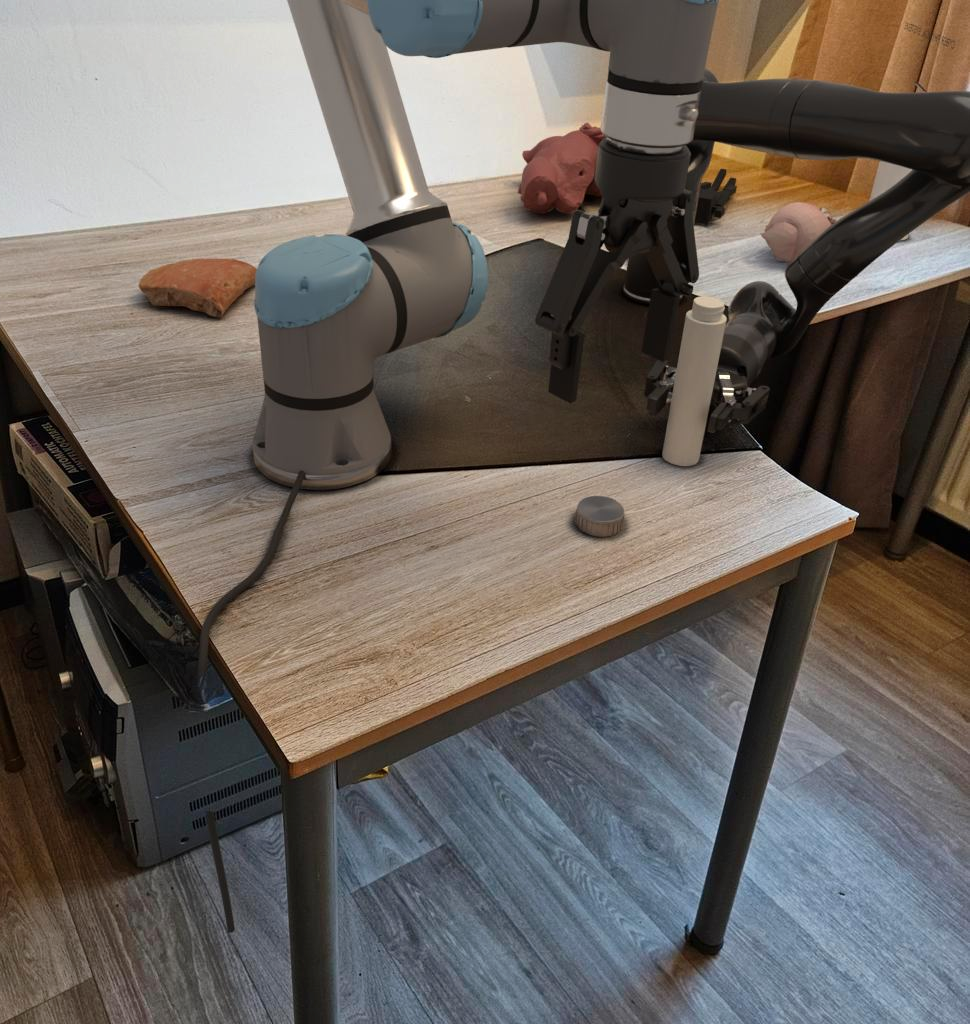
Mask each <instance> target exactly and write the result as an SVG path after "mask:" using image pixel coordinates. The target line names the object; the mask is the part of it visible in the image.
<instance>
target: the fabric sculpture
mask: <svg viewBox="0 0 970 1024" xmlns="http://www.w3.org/2000/svg"><path fill="white" fill-rule="evenodd" d="M605 137H606V136H605V135H604V134H603V133H602V131H601V129H600V127H598V126H592V125H591V124H590V123H589V122H585V123H584V124H581V126H580V127H579V129H576V130H573V131H570V132H568V133H566V134H565V135H554V136H549V137H546V138H544V139H542V140H540V141H539V142H538V143H536V145H535V146H534V147H532V148H531V149H529V150H523V151H522V153H521V156H522V158H523V160H524V162H525V163H526V164H525V166H524V168H523V170H522V172H521V173H522V174H521V180H520V181H521V182H520V185H519V186H518V189H517V194H518V195H520V200H521V202H522V203H523V207H524V209H525V210H529V211H530V212H532V213H535V214H546V213H549V212H551V211H552V210H553V209H554V208H555V209H556V210H557V211H559V212H560V213H564V214H569V213H574V212H575V211H577V210H579V209H580V205H581V204H582V202H583V203H584V199H585V195H591V196H593V197H596V198H599V197H602V193H601V191H600V189H599V188H598V187H597V185H596V183H595V173H596V165H597V157H598V149H599V143H600V142H601V141H602V140H603V139H604V138H605Z"/></svg>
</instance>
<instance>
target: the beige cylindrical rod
mask: <svg viewBox="0 0 970 1024" xmlns="http://www.w3.org/2000/svg"><path fill="white" fill-rule="evenodd" d="M725 306H726V305H725V302H724V300H722V299H721V298H717V297H715V296H708V295H700V296H697V297H695V298H694V299H693V302H692V307H691V309H690V310H688V311H687V312H686V314H685V318H684V325H683V330H682V335H681V342H680V348H679V354H678V359H677V365H676V368H677V370H676V376H675V382H674V388H673V394H672V400H671V402H670V406H669V412H668V416H667V417H668V418H667V422H666V423H667V424H666V430H665V436H664V441H663V447H662V452H661V456H662V458H663V459H664V460H665V461H666V462H667V463H670V464H671V465H674V466H679V467H691V466H694V465H696V464H698V462H699V461H700V457H701V452H702V447H703V441H704V436H705V432H706V427H707V422H708V416H709V411H710V406H711V404H710V401H711V396H712V391H713V386H714V381H715V376H716V371H717V366H718V361H719V356H720V351H721V346H722V341H723V336H724V331H725V325H726V320H727V318H726V314H724V312H725V310H726V307H725Z"/></svg>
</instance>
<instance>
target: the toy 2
mask: <svg viewBox="0 0 970 1024" xmlns="http://www.w3.org/2000/svg"><path fill="white" fill-rule="evenodd" d="M831 215H832V214H831V213H830V211H829V210H828V209H826V208H824V207H820V208H818V207H816V206H815V205H814V204H810V203H808V202H804V201H803V202H802V201H794V202H790V203H787V204H786V205H784V206H783V207H781V208H780V209H778V210H777V211H776V212H775V213H774V214H773V215H772V216H771V219H770V220H769V222H768V223H767V225H765V229H764V232H760V233H759V234H760V236H761V238H762V239H764V240H765V242H766V244H767V246H768V248H769V249H770V252H771V254H772V255H773V256H774V258H776V259H777V261H781V262H786V263H787V264H789V263H790V262H791V261H792V260H793V259H794V258H795V257H796V256H797V255H798V254H799V253H800V252H802V251H803V250H804V249H805V248H806V247H807V246H808V245H809V244H810V243H811V242H812V241H813V240H814V239H816V238H817V237H818V236H819V235H820V234H821V233H822V232H823V231H824V230H826V229H827V228H828V227H829V226H831V225H832V224H833V223H835V222H836V221H837V219H836V217H831Z"/></svg>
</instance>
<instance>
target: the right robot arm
mask: <svg viewBox="0 0 970 1024" xmlns="http://www.w3.org/2000/svg"><path fill="white" fill-rule="evenodd" d="M703 77H704V79H703V85H702V89H701V94H700V100H699V106H698V117H697V119H696V124H695V130H694V136H693V140H692V141H691V142H690V143H688V144H686V146H687V147H688V149H689V151H690V152H691V156H690V162H689V167H688V173H687V178H686V184H685V190H688V191H692V192H694V205H693V213H692V217H693V225H694V226H695V224H696V223H695V217H696V211H697V204H698V198H699V192H700V186H701V183H702V181H703V177H704V176H705V174H706V172H707V171H708V168H709V166H710V164H711V160H712V157H713V153H714V148H715V143H719V144H724V145H728V146H732V147H736V148H741V149H745V150H749V151H754V152H760V153H766V154H771V155H775V156H780V157H785V158H793V159H799V160H806V161H807V160H809V161H841V160H842V161H843V160H850V159H852V160H853V159H864V160H865V159H866V160H873V161H879V162H880V161H882V162H886V163H890V164H894V165H898V166H902V167H906V168H909V169H912V171H911V172H909V173H908V174H907V175H906V176H905V177H904V178H902V179H901V180H900V181H899V182H897V183H896V184H895V185H894V186H892V187H891V188H889V189H888V190H886V191H885V192H883V193H882V194H880V195H879V196H877V197H876V198H874V199H872V200H871V201H867V202H866V203H864V204H862V205H861V206H859V207H857V208H854V210H851V212H848V213H847V214H846V215H844V216H842V217H840V218H839V219H837V220H836V222H835V223H833V224H832V225H831V226H829V227H828V228H827V229H826V230H824V231H823V232H822V233H821V234H820V235H819V236H818V237H817V238H816V239H814V240H813V241H812V242H811V243H810V244H809V245H808V246H807V247H806V248H805V249H804V250H803V251H802V252H800V253H799V254H798V255H797V256H796V257H795V258H794V259H793V260H792V261H791V262H788V263H787V266H786V267H785V270H784V279H785V281H786V283H787V285H788V287H789V289H790V291H791V293H792V294H793V296H794V298H795V301H796V308H795V307H794V306H793V305H792V304H791V303H790V302H789V301H788V300H787V299H786V298H785V297H784V296H783V295H782V294H781V293H780V292H779V291H778V290H777V289H776V288H775V287H774V286H773V285H772V284H770V283H769V282H766V281H762V280H756V281H752V282H748V283H747V284H746V285H744V286H743V287H742V288H741V289H739V290H738V291H737V292H736V293H735V295H734V296H733V298H732V299H731V300H730V303H729V305H728V307H727V310H726V313H725V316H726V318H727V320H726V325H725V331H724V336H723V341H722V346H721V351H720V356H719V361H718V366H717V371H716V376H715V381H714V386H713V391H712V396H711V401H710V405H713V406H714V408H715V409H714V410H713V411H712V413H711V414H710V416H709V419H708V426H707V432H709V433H711V434H715V432H717V430H718V431H722V430H724V429H725V427H726V426H727V424H728V423H732V421H733V420H737V421H738V423H740V424H742V425H748V424H750V423H751V422H752V421H753V420H754V419H755V418H757V417H758V415H759V414H761V413H762V412H763V411H764V410H765V409H766V407H767V402H768V400H769V394H770V391H771V388H770V387H769V386H767V385H760V386H758V387H757V388H756V387H751V385H752V383H753V382H754V381H755V380H756V379H758V378H759V375H760V373H761V371H762V369H763V368H764V366H765V364H766V362H767V361H768V360H769V359H770V358H780V357H782V356H785V355H786V354H788V353H790V352H791V351H792V350H793V349H794V348H795V347H796V346H797V344H798V343H799V341H800V340H801V339H802V337H803V336H804V333H805V332H806V331H807V329H808V327H809V326H810V324H811V323H812V321H813V320H814V319H815V317H816V316H817V314H818V313H819V312H820V311H821V310H822V308H823V307H824V306H825V305H826V304H827V303H828V302H829V301H830V300H831V299H832V298H833V297H834V296H835V295H837V293H839V292H840V291H841V290H842V289H843V288H845V287H846V286H847V285H848V284H849V283H850V282H851V281H852V280H854V279H855V278H856V277H857V276H858V275H860V274H861V273H862V272H863V271H865V269H867V267H869V266H870V265H871V264H872V263H874V262H875V261H876V260H877V259H879V258H880V257H881V256H882V255H884V253H885V252H887V251H888V250H889V249H891V248H893V246H895V245H896V244H897V243H898V242H900V241H902V240H901V239H902V238H904V237H905V236H906V235H908V234H909V235H910V233H912V232H913V231H915V230H916V229H917V228H919V227H920V226H922V225H923V224H925V223H926V222H928V221H929V220H930V219H932V218H933V217H935V216H936V215H937V214H939V213H941V212H942V211H943V210H945V209H946V208H947V207H949V206H951V205H952V204H954V203H955V202H957V201H958V200H960V199H962V198H963V197H965V196H966V195H968V194H970V90H945V91H944V90H943V91H927V92H922V91H921V92H920V91H919V92H885V91H878V90H873V89H869V88H865V87H861V86H856V85H852V84H846V83H841V82H833V81H827V80H826V81H825V80H819V79H818V80H817V79H805V78H763V79H762V78H761V79H751V80H743V81H742V80H741V81H734V82H719V79H718V78H717V77H716V75H715V74H714V72H712V71H711V70H710V69H707V68H706V67H705V71H704V76H703ZM579 210H581V211H584V212H586V210H585V204H584V201H583V202H582V204H581V205H580V207H579ZM626 265H627V266H626V272H625V279H624V284H623V289H622V292H623V295H624V296H625V297H626V298H627V299H629V300H631V301H634V302H636V303H639V304H643V305H648V306H649V304H650V298H651V292H652V289H655V288H658V289H661V290H662V287H660V286H659V284H658V282H657V280H656V278H655V275H654V273H653V271H652V269H651V267H650V265H649V262H648V260H647V258H646V256H645V254H643V253H638V254H636V255H635V256H634V257H632V258H629V259H627V264H626ZM682 266H685V265H684V264H683V263H682ZM685 267H686V266H685ZM683 298H684V296H683V295H680V300H679V303H680V302H681V301H682V300H683ZM676 370H677V367H673V366H670V365H669V364H668V360H666V361H664V362H662V361H660V360H658V359H656V361H655V363H654V365H652V368H651V369H650V371H649V372H648V373H647V375H646V380H645V386H644V393H643V396H644V397H646V398H647V404H646V410H648V412H649V413H648V414H649V415H650V416H653V417H656V416H657V415H658V414H659V413H660V412H661V411H662V410H663V409H664V408H665V407H666V405H667V404H668V403H671V400H672V394H673V388H674V382H675V376H676ZM743 399H744V400H743ZM737 401H742V402H741V403H740V402H737Z"/></svg>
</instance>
